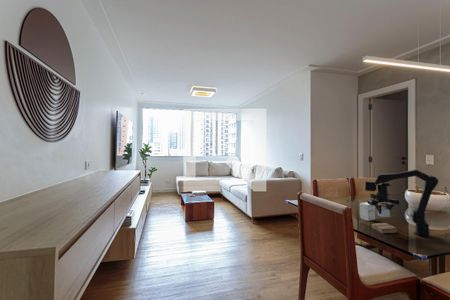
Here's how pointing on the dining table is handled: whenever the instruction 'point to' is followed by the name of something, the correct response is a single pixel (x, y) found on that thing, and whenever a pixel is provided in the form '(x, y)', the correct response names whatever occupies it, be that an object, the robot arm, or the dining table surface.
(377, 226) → the tan flat block
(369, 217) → the supplement box
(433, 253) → the dining table surface
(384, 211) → the slate block
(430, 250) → the dining table surface
